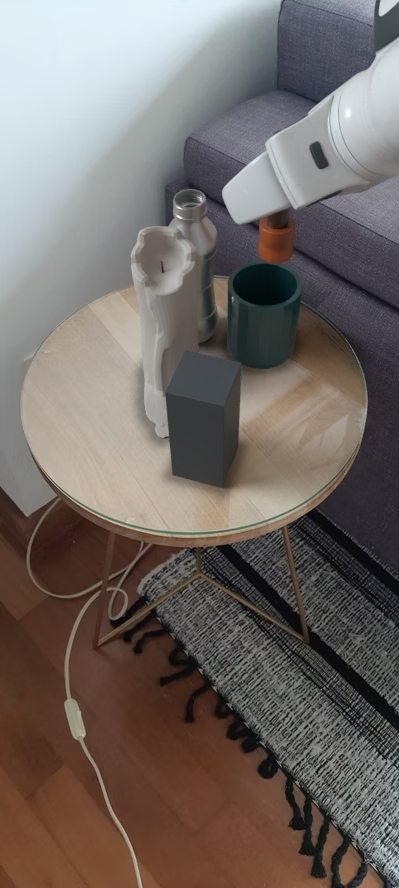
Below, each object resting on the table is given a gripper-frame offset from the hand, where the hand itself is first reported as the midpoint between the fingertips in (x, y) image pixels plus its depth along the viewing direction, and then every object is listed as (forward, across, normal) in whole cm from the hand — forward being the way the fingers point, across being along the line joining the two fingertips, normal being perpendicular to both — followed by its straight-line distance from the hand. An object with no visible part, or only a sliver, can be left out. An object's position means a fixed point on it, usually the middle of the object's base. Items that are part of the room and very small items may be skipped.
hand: (276, 189), depth 73 cm
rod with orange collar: (+5, 0, +6) cm, 8 cm away
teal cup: (+15, +1, +16) cm, 22 cm away
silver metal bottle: (+20, +7, +11) cm, 24 cm away
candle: (+15, +15, +16) cm, 27 cm away
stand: (+8, +19, +23) cm, 30 cm away
